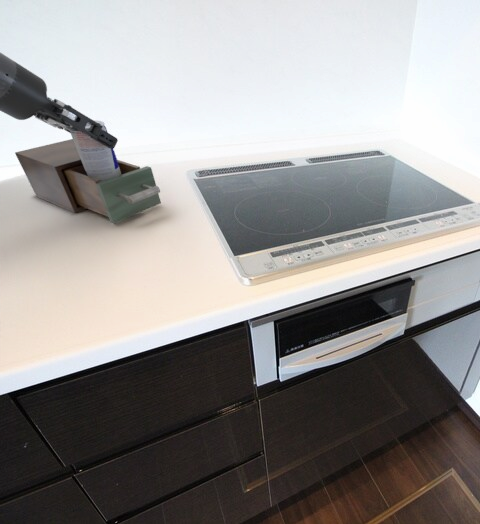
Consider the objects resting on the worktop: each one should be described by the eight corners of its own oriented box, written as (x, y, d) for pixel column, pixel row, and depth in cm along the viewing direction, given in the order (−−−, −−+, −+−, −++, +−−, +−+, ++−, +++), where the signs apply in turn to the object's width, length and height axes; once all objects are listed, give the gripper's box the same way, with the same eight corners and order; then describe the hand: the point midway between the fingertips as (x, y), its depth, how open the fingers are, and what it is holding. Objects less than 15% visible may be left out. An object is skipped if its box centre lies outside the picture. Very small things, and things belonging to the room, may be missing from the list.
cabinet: (128, 192, 81) (114, 150, 75) (75, 213, 72) (54, 166, 67) (90, 179, 86) (74, 138, 80) (36, 196, 77) (14, 152, 72)
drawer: (175, 208, 74) (166, 171, 70) (128, 229, 67) (114, 190, 62) (122, 189, 80) (110, 154, 76) (74, 207, 73) (57, 169, 68)
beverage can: (135, 198, 75) (110, 122, 66) (108, 208, 71) (78, 129, 62) (118, 191, 77) (92, 117, 68) (91, 200, 73) (60, 123, 64)
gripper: (34, 63, 51) (134, 129, 66) (-16, 52, 56) (87, 116, 71) (9, 109, 50) (115, 165, 65) (-40, 95, 55) (69, 150, 70)
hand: (100, 139), depth 68 cm, fingers open, 8 cm apart
